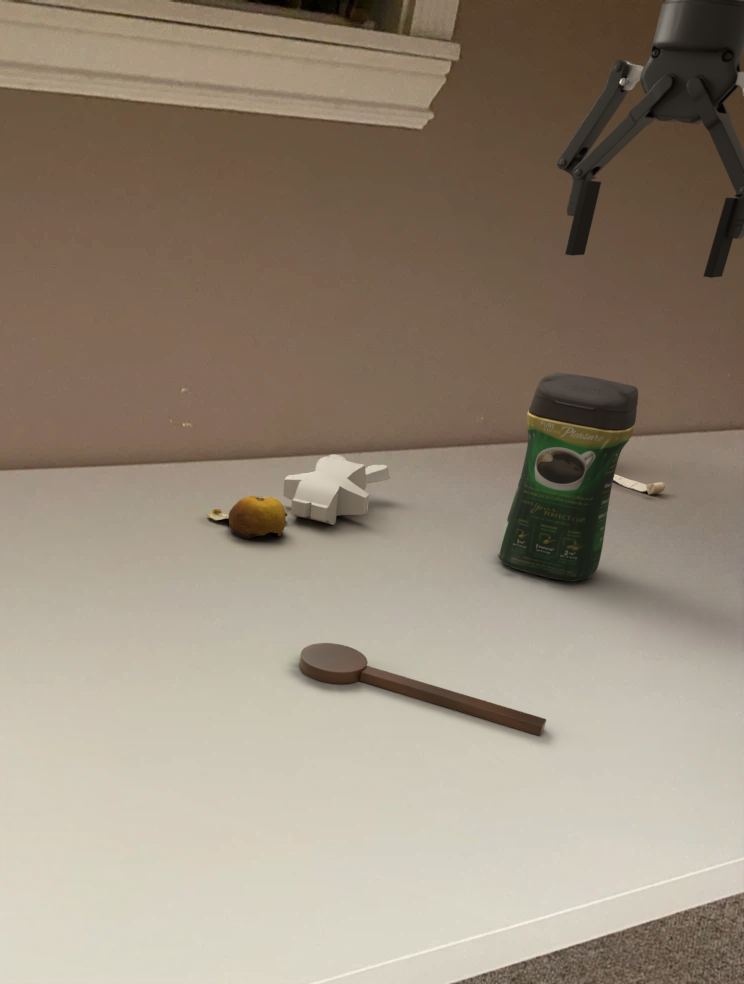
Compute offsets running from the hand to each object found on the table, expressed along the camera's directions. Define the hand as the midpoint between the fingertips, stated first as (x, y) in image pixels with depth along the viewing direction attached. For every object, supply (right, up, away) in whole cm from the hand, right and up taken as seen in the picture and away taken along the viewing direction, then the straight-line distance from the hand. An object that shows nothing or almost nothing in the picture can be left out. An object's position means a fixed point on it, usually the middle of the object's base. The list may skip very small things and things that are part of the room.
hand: (641, 265), depth 104 cm
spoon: (-26, -41, -21) cm, 53 cm away
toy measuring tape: (+9, -11, +38) cm, 41 cm away
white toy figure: (-27, -20, +17) cm, 38 cm away
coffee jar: (-7, -28, +6) cm, 30 cm away
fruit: (-36, -23, +9) cm, 44 cm away
